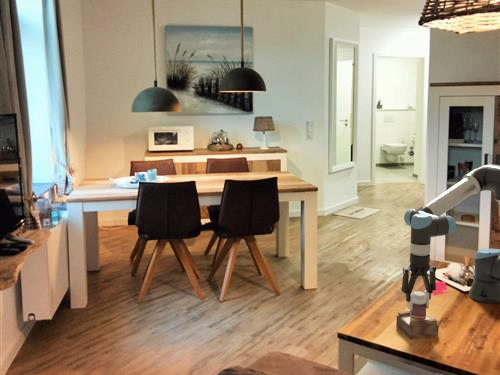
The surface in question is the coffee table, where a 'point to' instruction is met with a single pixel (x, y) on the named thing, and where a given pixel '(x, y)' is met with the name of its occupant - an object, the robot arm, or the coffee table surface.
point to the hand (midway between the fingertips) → (418, 307)
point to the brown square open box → (416, 326)
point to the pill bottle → (418, 307)
